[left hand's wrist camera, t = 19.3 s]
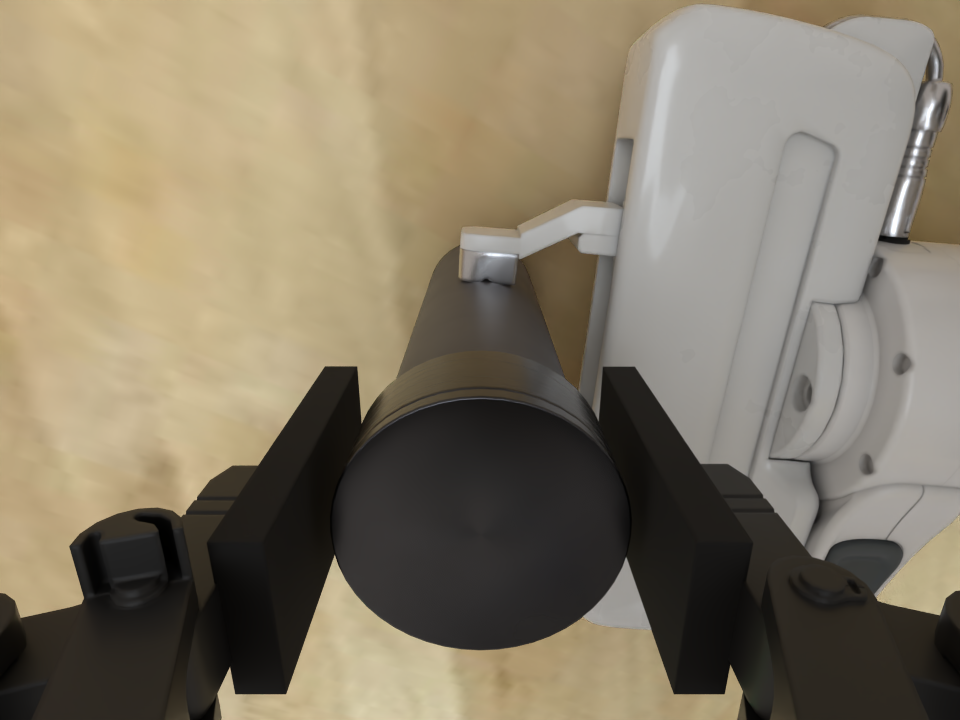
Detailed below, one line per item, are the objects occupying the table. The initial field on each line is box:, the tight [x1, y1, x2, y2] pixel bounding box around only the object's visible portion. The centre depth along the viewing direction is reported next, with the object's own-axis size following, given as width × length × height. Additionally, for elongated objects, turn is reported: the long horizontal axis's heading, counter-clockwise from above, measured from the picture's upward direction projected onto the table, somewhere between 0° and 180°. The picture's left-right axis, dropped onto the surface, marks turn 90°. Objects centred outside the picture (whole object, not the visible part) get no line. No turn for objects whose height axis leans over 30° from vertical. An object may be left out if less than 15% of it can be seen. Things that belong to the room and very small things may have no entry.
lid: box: [330, 350, 632, 650], centre depth 11 cm, size 5×5×2 cm
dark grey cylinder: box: [396, 246, 565, 379], centre depth 19 cm, size 4×4×16 cm
